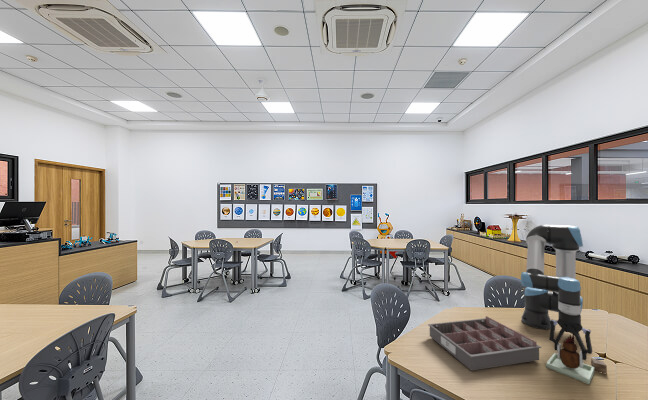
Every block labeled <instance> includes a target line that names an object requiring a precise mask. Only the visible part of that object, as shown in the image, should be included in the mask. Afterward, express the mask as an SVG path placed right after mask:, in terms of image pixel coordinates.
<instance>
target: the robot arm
mask: <svg viewBox="0 0 648 400" xmlns="http://www.w3.org/2000/svg"><path fill="white" fill-rule="evenodd" d="M525 243H526V245H527V253H526V254H527V255H526V268H525V269H526V270H525V271H523V272H521V274H520V284H521V286H522V287H525V288H524V294H523V295H524V310H523V313H522V315H521V322H522V323H523V324H525V325H527V326H529V327H532V328H534V329H535V328H536V329H541V330H550V332H549V339H548V340H549V341H550V342H552V343H553V344H554V349H553V350H554V351H557V352H556V354H557V359H560V350H561V349H562V347H561V346H562V344H561V342H560V341H561V339H562V338H563V335H564V333H565V332H566V333H570V335H571V334H572V335H573V334H574V339H576V341H577V344H578V346H579V348H580V351H579V355H580V367H581V368H582V367H583V363H584V361H587V356H588V355H587V354H589V355H591V354H592V353H593V347H592V342H591V341H592V339H591V336H590V335H591V333H592V330H591V329H589V328H585V327H583V325H582V315H581V314H582V312H583V311H582V310H583V302H584V298H583V297H582V296H581V290H582V286H581V281H579V279H576V278H577V274H576V273H577V272H576V265H577V264H576V261H577V260H576V255H577V254H576V253H577V252H578V251H580V248H582V247H584V245H583V238H582V234H581V229H580V228H579V227H578V226H576V225H575V226H574V225H564V224H562V225H561V224H560V225H559V224H558V225H557V224H555V225H554V224H541V225H538V226H537V225H536V227H533V228H532V229H530V231H529V232H527V234H526V238H525ZM546 245H551V246H552V248H553V249H554V251H555V276H553V275H546V274H545V247H546ZM550 311H551V312H556V313H557V314H558V320H555V319H551V317H550V315H549V312H550ZM557 325H558V326H559V327H560V328H561V329H560V330H559V332H558V334H557V336H556V338H555V333H556V326H557ZM581 331H582V333H583V334H584V339H585V344H586V345H585V344H584V342H583V340H582V337H581V334H580V332H581Z"/></svg>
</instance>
